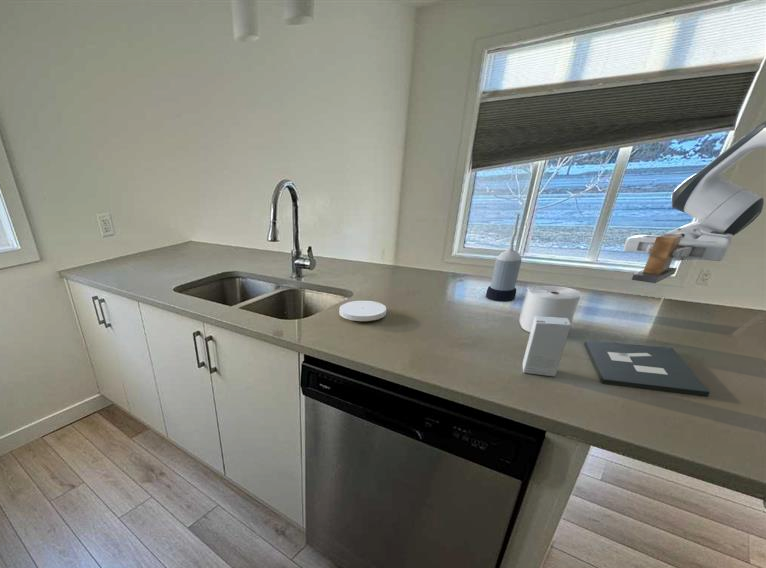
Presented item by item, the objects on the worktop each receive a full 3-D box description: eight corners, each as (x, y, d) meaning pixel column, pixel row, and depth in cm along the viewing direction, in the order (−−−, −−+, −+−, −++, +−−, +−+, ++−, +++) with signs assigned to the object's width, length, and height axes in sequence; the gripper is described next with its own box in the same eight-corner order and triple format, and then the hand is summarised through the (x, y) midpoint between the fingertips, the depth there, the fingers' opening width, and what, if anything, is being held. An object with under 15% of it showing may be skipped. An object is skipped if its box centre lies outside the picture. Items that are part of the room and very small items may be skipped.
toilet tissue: (564, 340, 100) (577, 301, 95) (510, 330, 108) (519, 293, 103) (572, 325, 107) (584, 289, 102) (520, 317, 114) (529, 282, 109)
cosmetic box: (552, 368, 89) (569, 317, 83) (555, 378, 86) (573, 325, 80) (520, 364, 92) (534, 314, 86) (521, 373, 88) (536, 322, 82)
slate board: (670, 351, 91) (672, 347, 91) (707, 396, 76) (710, 391, 75) (583, 343, 98) (585, 339, 97) (601, 383, 83) (603, 379, 82)
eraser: (674, 273, 108) (692, 232, 103) (655, 283, 103) (672, 241, 98) (651, 270, 112) (666, 231, 107) (631, 279, 107) (646, 238, 102)
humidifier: (491, 291, 134) (509, 211, 122) (518, 296, 129) (540, 212, 116) (481, 298, 130) (498, 215, 117) (509, 303, 124) (530, 216, 112)
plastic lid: (384, 325, 117) (385, 317, 116) (336, 323, 122) (336, 315, 120) (386, 308, 129) (387, 301, 127) (342, 307, 133) (342, 300, 132)
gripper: (640, 227, 116) (617, 235, 111) (742, 234, 101) (722, 244, 95) (632, 250, 119) (609, 259, 114) (729, 260, 104) (709, 271, 98)
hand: (661, 252), depth 104 cm, fingers closed on eraser, 3 cm apart
